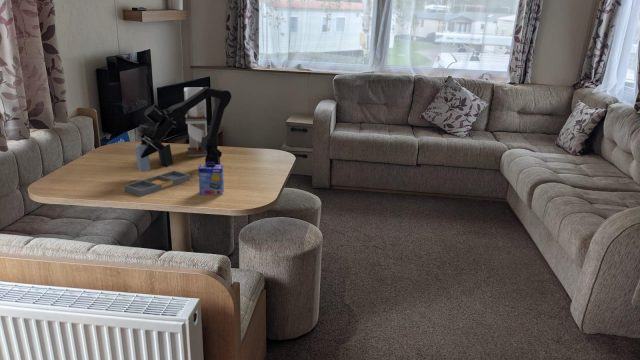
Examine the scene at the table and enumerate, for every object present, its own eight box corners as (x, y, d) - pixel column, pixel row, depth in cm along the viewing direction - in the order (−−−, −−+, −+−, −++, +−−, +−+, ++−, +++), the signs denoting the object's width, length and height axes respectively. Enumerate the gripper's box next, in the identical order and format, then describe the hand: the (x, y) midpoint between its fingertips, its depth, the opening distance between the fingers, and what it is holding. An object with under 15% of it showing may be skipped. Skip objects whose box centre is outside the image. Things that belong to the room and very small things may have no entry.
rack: (174, 175, 233) (174, 170, 232) (190, 179, 227) (190, 174, 227) (125, 190, 211) (124, 185, 210) (141, 196, 206) (141, 190, 205)
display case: (187, 150, 273) (184, 87, 262) (207, 150, 276) (204, 87, 265) (187, 156, 263) (184, 90, 252) (208, 155, 265) (205, 90, 254)
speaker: (176, 164, 249) (173, 144, 246) (167, 167, 245) (163, 146, 242) (168, 162, 254) (164, 142, 250) (158, 165, 249) (154, 145, 246)
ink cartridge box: (199, 195, 209) (197, 162, 204) (201, 190, 214) (199, 159, 210) (222, 195, 210) (221, 163, 205) (224, 191, 215) (223, 159, 211)
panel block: (146, 167, 228) (144, 144, 225) (150, 170, 224) (148, 147, 221) (137, 168, 226) (135, 145, 222) (141, 171, 222) (139, 148, 219)
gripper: (141, 114, 227) (118, 141, 224) (155, 122, 213) (132, 150, 210) (159, 129, 234) (137, 155, 231) (174, 137, 220) (152, 165, 217)
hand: (139, 156), depth 222 cm, fingers closed on panel block, 5 cm apart
